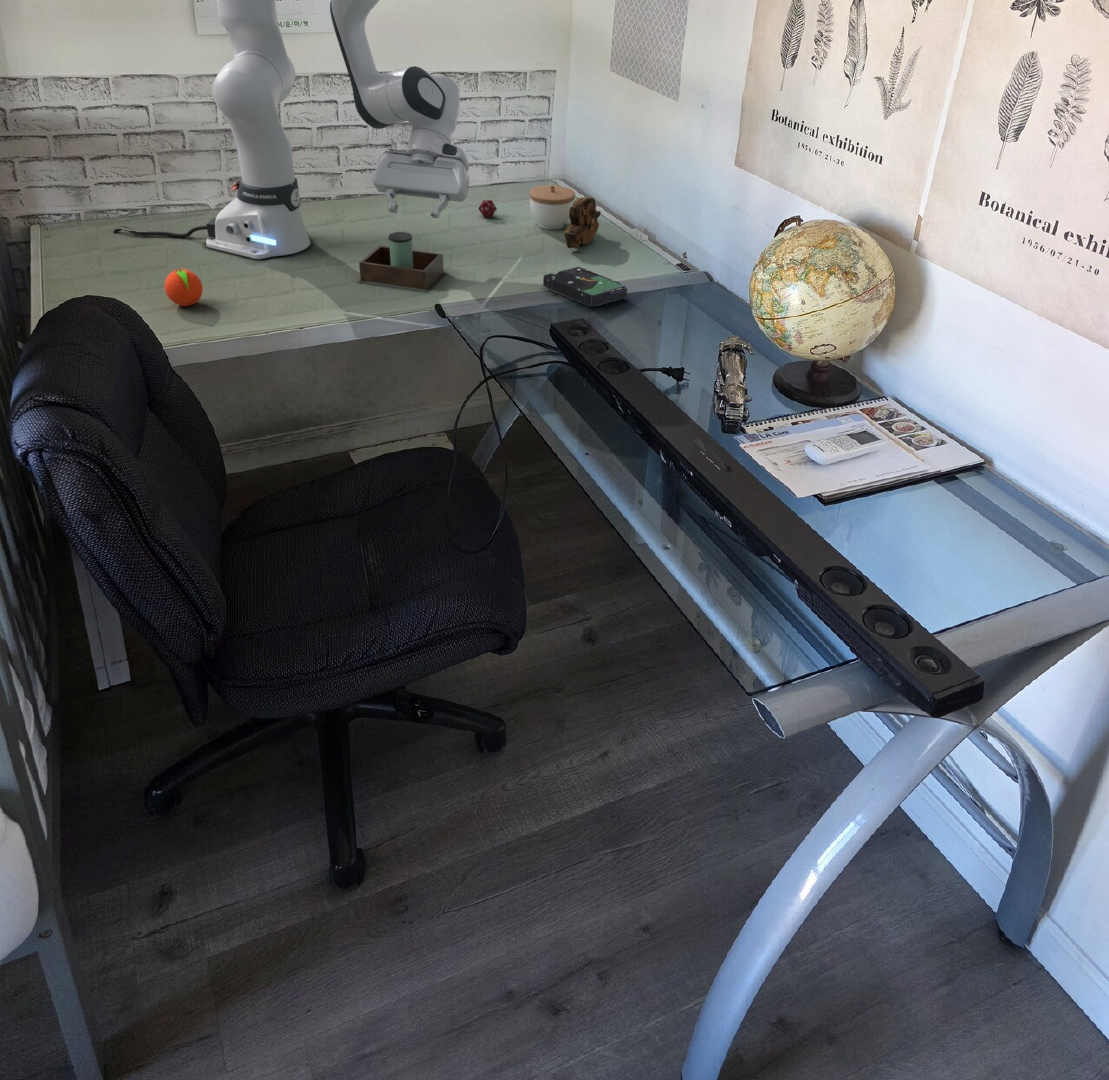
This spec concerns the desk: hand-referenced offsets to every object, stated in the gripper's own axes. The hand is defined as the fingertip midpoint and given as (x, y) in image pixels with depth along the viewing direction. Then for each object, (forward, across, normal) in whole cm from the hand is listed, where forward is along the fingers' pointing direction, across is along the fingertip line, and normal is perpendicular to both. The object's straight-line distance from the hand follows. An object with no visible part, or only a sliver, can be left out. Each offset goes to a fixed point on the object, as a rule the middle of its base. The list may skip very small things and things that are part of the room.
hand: (413, 214), depth 207 cm
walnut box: (+13, 0, +3) cm, 13 cm away
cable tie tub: (+13, 0, +2) cm, 13 cm away
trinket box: (-16, +21, +33) cm, 42 cm away
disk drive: (+10, +38, +6) cm, 40 cm away
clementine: (+32, -34, -16) cm, 50 cm away
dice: (-16, +5, +33) cm, 37 cm away
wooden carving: (-10, +31, +26) cm, 42 cm away
